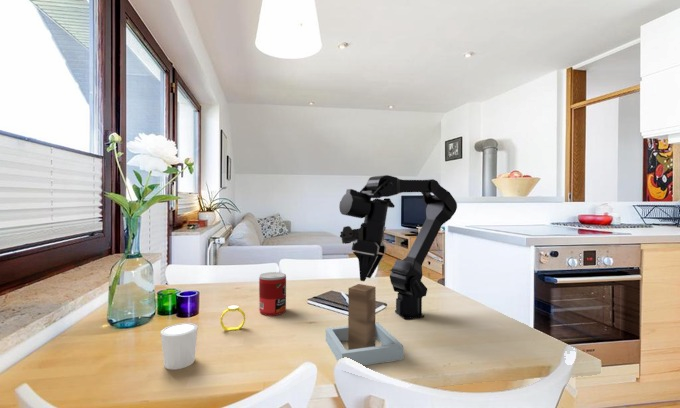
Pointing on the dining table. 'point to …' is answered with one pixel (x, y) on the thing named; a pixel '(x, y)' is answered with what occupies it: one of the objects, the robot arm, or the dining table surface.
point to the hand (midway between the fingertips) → (365, 279)
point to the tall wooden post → (361, 316)
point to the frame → (365, 356)
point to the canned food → (272, 293)
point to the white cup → (179, 345)
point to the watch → (233, 308)
